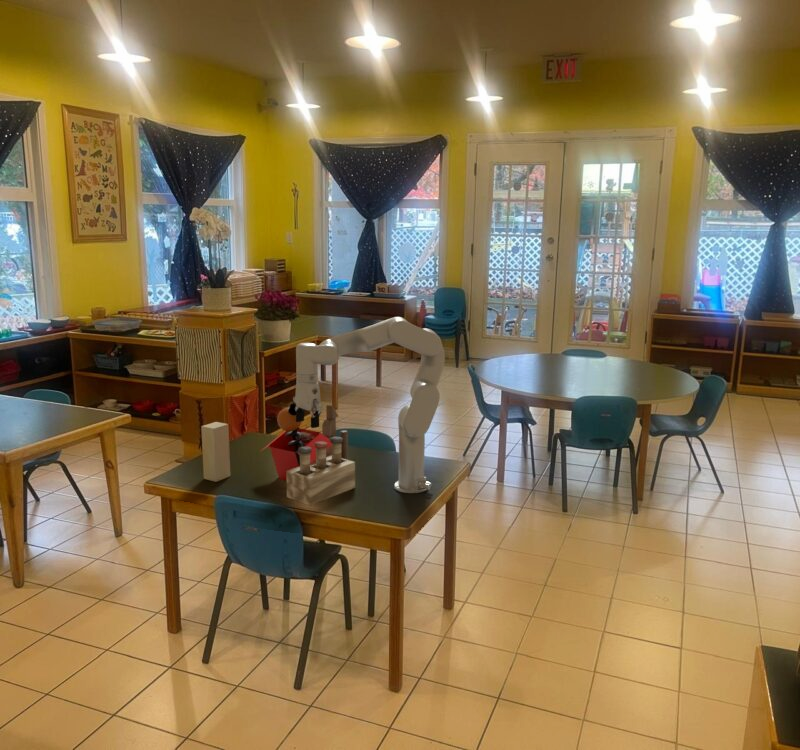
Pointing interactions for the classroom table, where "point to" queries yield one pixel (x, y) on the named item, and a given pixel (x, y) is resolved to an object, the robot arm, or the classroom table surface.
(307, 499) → the wooden cylinder block
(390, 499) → the classroom table surface
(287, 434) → the jack-in-the-box
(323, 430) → the wooden toy
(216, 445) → the toy refrigerator
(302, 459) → the plug
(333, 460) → the plug
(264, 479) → the classroom table surface
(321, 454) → the plug mid
